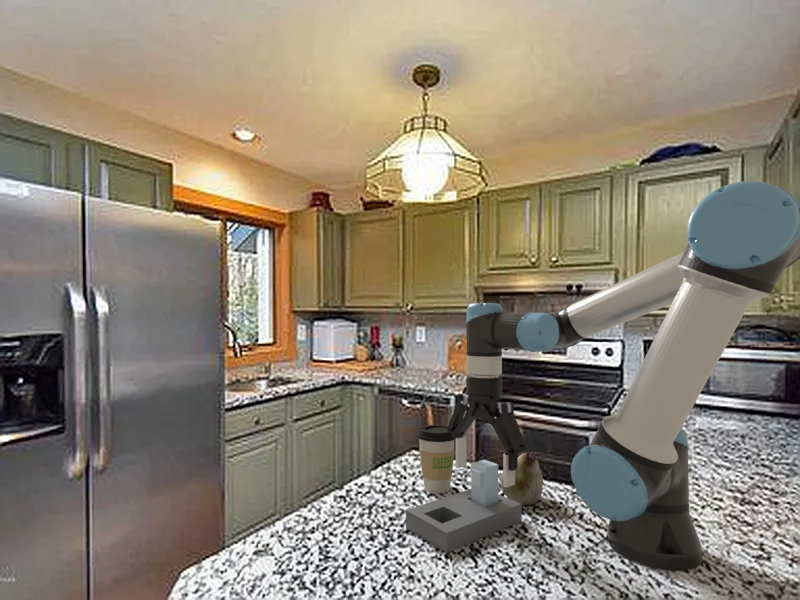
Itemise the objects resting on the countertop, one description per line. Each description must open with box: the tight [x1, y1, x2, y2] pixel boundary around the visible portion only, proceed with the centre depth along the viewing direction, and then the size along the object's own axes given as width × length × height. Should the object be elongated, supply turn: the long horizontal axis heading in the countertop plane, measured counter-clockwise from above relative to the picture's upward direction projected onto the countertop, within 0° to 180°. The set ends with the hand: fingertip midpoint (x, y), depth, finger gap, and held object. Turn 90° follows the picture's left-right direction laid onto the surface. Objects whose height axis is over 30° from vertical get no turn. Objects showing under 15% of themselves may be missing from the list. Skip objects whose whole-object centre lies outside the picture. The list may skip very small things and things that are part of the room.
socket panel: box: [405, 488, 523, 554], centre depth 92 cm, size 12×21×4 cm, turn 127°
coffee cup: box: [416, 424, 456, 494], centre depth 111 cm, size 10×10×15 cm
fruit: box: [500, 451, 544, 506], centre depth 104 cm, size 10×9×12 cm
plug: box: [470, 459, 499, 507], centre depth 95 cm, size 4×5×11 cm
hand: (483, 475), depth 96 cm, fingers open, 13 cm apart
